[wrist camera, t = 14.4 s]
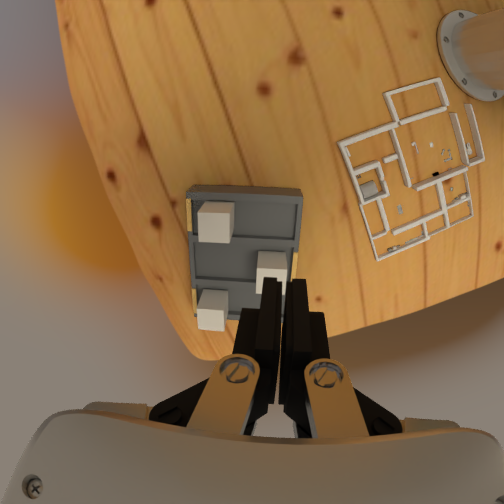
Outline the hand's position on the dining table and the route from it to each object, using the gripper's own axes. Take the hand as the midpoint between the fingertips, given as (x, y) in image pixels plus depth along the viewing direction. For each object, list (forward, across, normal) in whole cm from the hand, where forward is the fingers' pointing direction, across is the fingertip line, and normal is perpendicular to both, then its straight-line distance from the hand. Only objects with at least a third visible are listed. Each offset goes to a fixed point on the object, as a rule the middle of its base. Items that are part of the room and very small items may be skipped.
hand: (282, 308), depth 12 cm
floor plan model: (+25, -15, -6) cm, 29 cm away
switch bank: (+23, +4, +9) cm, 25 cm away
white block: (+20, +1, +9) cm, 22 cm away
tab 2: (+20, +7, +15) cm, 26 cm away
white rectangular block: (+20, +6, +4) cm, 21 cm away
